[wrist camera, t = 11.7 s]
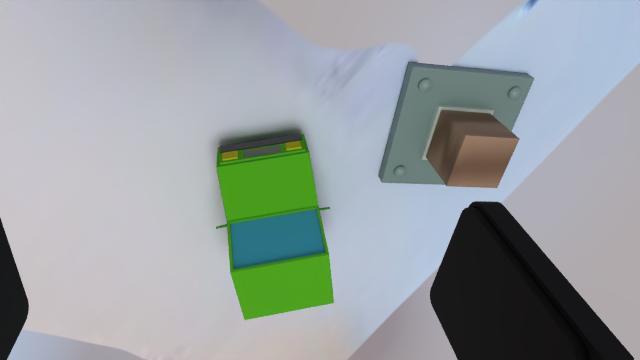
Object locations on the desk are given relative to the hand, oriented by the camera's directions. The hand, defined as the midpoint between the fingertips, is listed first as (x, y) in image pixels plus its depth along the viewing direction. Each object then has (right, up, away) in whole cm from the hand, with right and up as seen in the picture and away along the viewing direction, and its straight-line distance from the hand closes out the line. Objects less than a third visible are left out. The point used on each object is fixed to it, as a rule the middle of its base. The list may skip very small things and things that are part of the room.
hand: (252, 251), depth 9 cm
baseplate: (+14, +7, +33) cm, 36 cm away
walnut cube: (+14, +6, +31) cm, 35 cm away
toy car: (-4, +1, +34) cm, 34 cm away
